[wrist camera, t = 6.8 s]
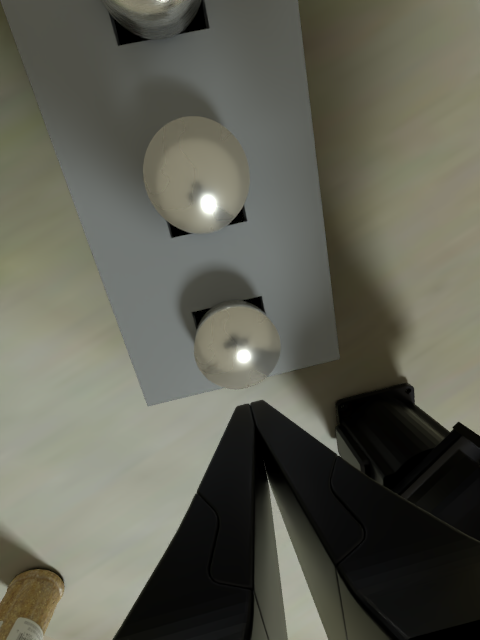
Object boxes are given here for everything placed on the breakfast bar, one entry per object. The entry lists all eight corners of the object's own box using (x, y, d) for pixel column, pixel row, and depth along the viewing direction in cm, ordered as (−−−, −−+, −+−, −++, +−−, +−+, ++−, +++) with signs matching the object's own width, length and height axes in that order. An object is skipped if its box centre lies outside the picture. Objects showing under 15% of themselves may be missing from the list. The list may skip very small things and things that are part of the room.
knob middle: (229, 147, 15) (237, 105, 11) (245, 227, 17) (258, 221, 12) (153, 163, 15) (128, 128, 11) (175, 243, 16) (161, 242, 12)
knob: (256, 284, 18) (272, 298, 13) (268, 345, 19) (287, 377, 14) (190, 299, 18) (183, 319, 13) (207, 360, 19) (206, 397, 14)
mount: (261, -47, 14) (280, -153, 10) (315, 337, 21) (340, 358, 17) (32, -5, 14) (-37, -101, 10) (159, 375, 20) (147, 406, 16)
